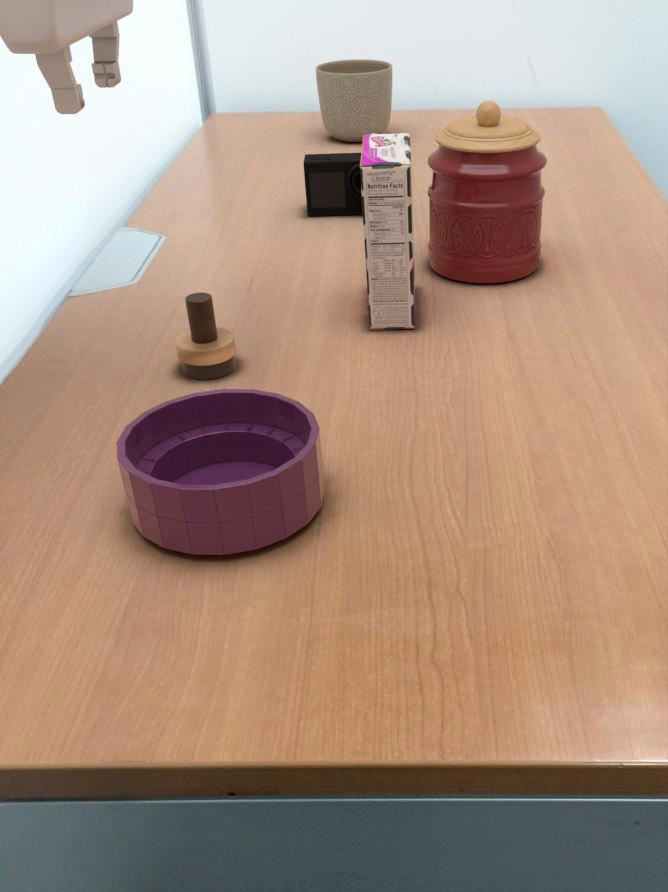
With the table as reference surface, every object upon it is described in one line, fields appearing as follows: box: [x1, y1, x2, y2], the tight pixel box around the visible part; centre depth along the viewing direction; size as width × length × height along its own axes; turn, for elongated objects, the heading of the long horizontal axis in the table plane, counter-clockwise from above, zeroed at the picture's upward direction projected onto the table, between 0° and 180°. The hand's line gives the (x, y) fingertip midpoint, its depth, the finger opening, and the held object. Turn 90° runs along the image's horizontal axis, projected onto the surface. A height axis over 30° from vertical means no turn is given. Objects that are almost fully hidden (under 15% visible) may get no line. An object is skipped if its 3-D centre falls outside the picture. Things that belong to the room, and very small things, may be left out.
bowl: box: [115, 388, 326, 556], centre depth 70 cm, size 14×14×6 cm
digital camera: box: [303, 152, 363, 217], centre depth 126 cm, size 10×5×7 cm, turn 92°
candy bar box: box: [360, 132, 416, 331], centre depth 96 cm, size 11×5×16 cm, turn 0°
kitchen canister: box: [427, 100, 548, 284], centre depth 106 cm, size 13×13×18 cm
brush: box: [175, 292, 237, 381], centre depth 88 cm, size 5×5×7 cm
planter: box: [315, 58, 393, 143], centre depth 157 cm, size 12×12×11 cm
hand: (91, 98), depth 75 cm, fingers open, 8 cm apart
